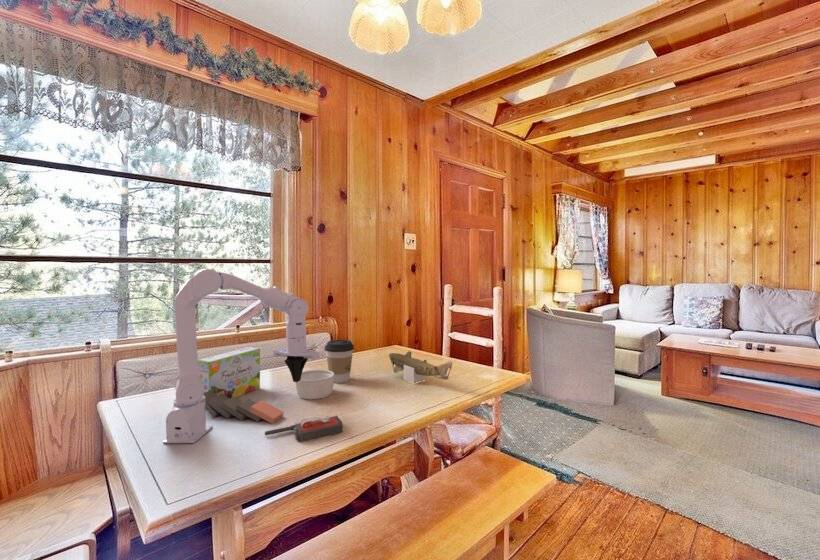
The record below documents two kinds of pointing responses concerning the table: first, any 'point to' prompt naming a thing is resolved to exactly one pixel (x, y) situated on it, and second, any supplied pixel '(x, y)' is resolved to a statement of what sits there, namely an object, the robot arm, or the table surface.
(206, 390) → the snack box
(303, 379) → the ramekin
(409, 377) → the wood carving
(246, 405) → the domino
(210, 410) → the domino
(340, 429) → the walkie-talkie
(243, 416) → the domino
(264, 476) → the table surface
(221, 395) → the domino
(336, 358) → the coffee cup
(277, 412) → the red domino
